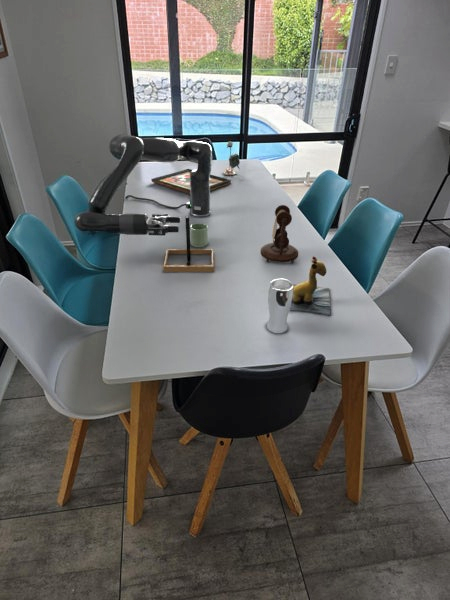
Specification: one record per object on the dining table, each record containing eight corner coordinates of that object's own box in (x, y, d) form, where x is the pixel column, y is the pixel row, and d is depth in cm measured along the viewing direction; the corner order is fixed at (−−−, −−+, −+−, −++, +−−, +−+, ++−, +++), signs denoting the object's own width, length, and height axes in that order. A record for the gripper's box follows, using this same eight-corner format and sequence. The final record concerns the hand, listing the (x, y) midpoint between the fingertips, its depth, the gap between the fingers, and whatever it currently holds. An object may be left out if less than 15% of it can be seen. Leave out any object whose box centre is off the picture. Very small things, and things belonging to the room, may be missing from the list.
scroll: (259, 247, 164) (263, 200, 153) (295, 249, 164) (301, 201, 153) (261, 265, 152) (265, 215, 141) (299, 266, 151) (306, 216, 140)
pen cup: (191, 240, 168) (190, 223, 164) (207, 240, 169) (207, 223, 164) (190, 248, 163) (189, 230, 158) (207, 248, 163) (207, 230, 158)
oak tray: (163, 272, 146) (163, 266, 145) (167, 254, 158) (166, 249, 156) (213, 272, 147) (213, 266, 145) (212, 254, 158) (212, 249, 157)
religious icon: (234, 181, 237) (234, 177, 236) (200, 198, 212) (200, 193, 211) (183, 171, 254) (183, 166, 252) (146, 185, 229) (146, 180, 227)
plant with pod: (241, 175, 249) (242, 141, 238) (223, 175, 247) (224, 141, 236) (238, 171, 256) (240, 138, 244) (221, 172, 254) (221, 138, 243)
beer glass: (263, 320, 122) (267, 278, 114) (286, 319, 123) (291, 277, 114) (267, 334, 116) (271, 291, 108) (291, 333, 117) (297, 290, 109)
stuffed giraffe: (330, 315, 125) (337, 269, 116) (272, 310, 128) (275, 265, 119) (328, 290, 138) (334, 247, 130) (276, 286, 141) (279, 244, 133)
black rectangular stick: (187, 260, 153) (185, 216, 143) (191, 260, 153) (189, 216, 143) (186, 265, 149) (185, 220, 139) (190, 265, 149) (189, 220, 139)
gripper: (129, 222, 135) (177, 222, 135) (135, 206, 146) (180, 207, 147) (131, 242, 139) (178, 242, 139) (137, 226, 151) (180, 226, 151)
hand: (179, 224), depth 143 cm, fingers open, 8 cm apart
